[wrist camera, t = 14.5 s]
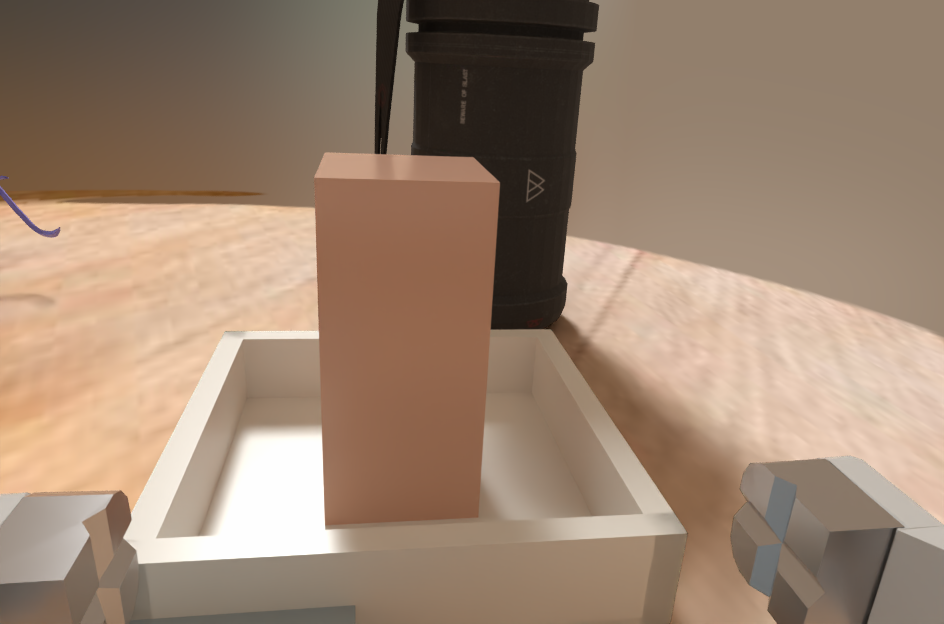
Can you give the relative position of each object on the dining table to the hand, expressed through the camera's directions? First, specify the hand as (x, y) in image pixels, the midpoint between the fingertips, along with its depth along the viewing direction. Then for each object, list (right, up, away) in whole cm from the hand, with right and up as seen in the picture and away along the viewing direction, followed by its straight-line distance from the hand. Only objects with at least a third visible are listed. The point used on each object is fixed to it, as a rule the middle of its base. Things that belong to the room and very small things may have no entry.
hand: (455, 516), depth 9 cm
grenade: (0, +2, +29) cm, 29 cm away
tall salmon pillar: (-2, -3, +13) cm, 14 cm away
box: (-2, -3, +13) cm, 14 cm away
